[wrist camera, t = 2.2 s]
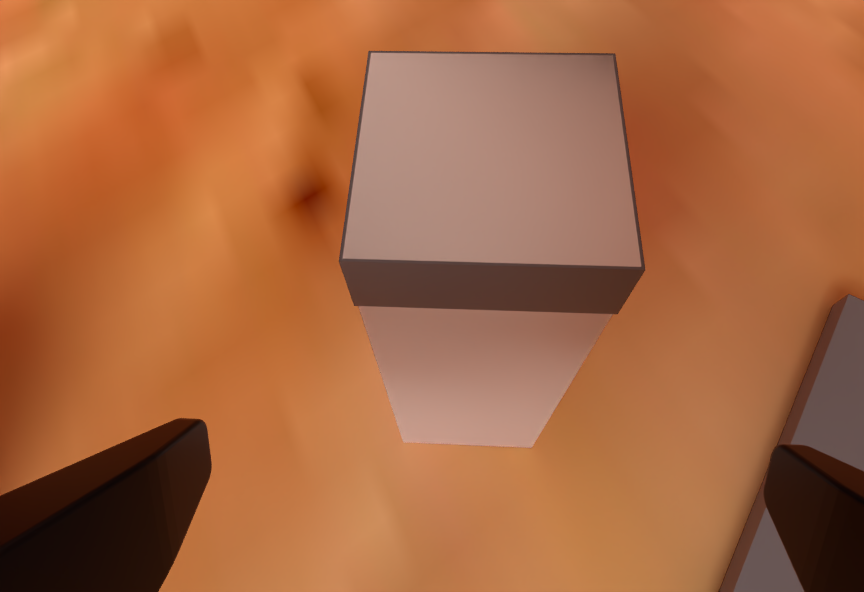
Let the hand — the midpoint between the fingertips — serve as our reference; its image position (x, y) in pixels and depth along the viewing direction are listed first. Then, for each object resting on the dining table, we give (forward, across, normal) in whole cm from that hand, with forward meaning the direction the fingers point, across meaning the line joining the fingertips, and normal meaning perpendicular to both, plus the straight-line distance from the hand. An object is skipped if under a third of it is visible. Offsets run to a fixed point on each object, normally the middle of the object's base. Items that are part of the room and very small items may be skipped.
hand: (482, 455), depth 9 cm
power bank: (+12, 0, +5) cm, 12 cm away
